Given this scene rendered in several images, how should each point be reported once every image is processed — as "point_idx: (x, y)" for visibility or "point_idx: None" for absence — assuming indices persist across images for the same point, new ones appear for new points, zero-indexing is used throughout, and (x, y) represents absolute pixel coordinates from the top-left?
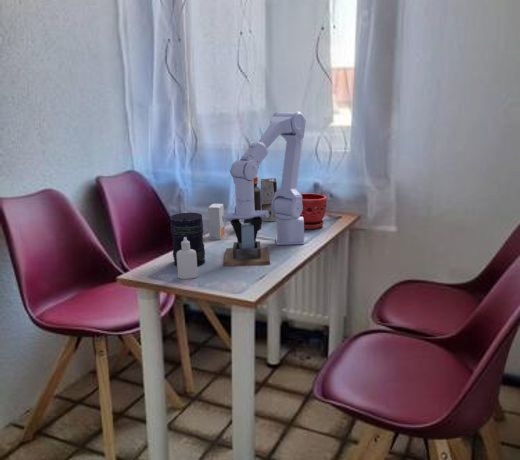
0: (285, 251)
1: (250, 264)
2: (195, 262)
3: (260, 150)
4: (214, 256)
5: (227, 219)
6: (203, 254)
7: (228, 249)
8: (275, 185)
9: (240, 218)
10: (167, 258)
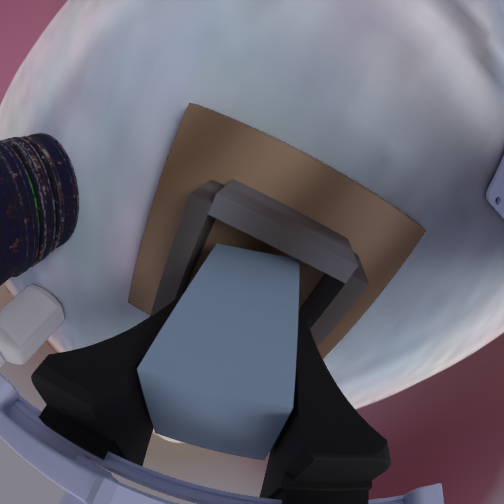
0: (450, 291)
1: None
2: (38, 346)
3: None
4: (118, 160)
5: (25, 420)
6: (48, 249)
7: (192, 132)
8: None
9: (128, 478)
10: (6, 116)
